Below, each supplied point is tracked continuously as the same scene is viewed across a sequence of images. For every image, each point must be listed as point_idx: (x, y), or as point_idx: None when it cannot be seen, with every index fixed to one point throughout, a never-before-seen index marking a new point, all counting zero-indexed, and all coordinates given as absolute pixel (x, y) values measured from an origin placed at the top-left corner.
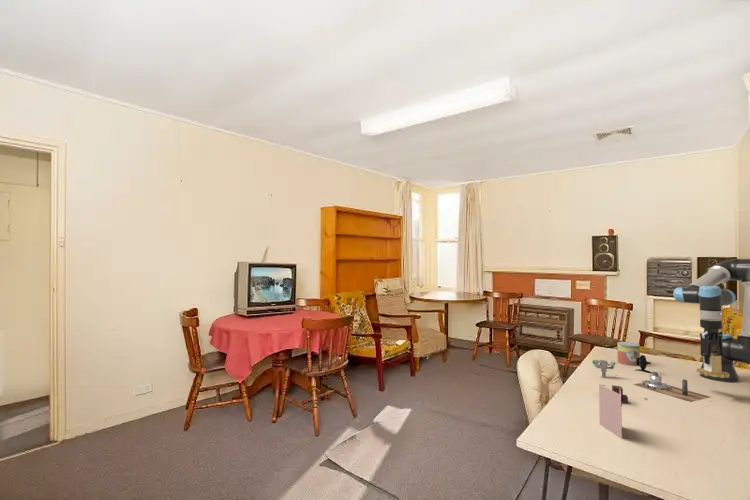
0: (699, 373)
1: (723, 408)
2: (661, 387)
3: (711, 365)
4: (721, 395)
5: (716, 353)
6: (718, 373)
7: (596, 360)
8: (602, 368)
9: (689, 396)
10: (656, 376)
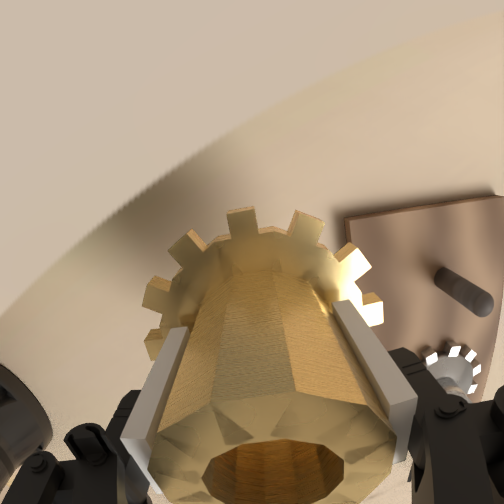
0: None
1: (406, 120)
2: (462, 355)
3: (369, 331)
4: None
5: (134, 485)
6: (284, 272)
7: None
8: None
9: (449, 252)
10: None
